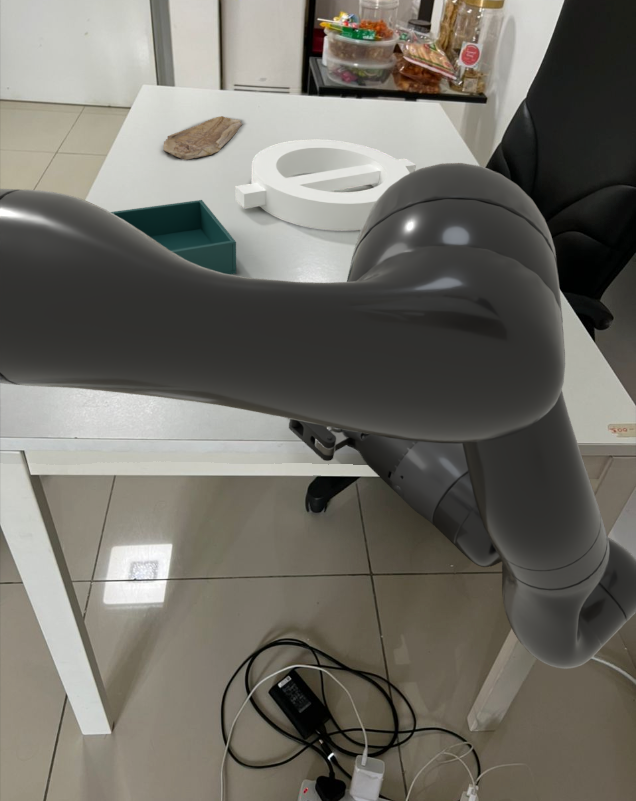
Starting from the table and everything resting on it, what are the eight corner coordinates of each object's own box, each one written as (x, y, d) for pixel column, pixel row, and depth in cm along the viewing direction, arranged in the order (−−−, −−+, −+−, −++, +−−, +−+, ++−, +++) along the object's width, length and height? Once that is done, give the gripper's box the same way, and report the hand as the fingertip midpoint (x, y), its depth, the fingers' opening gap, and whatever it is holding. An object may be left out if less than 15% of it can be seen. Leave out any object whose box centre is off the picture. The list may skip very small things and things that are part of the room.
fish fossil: (203, 115, 142) (203, 109, 141) (247, 125, 141) (247, 120, 141) (155, 153, 123) (155, 147, 122) (205, 165, 122) (206, 160, 121)
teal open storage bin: (139, 291, 88) (134, 258, 84) (113, 243, 97) (108, 212, 93) (236, 273, 93) (236, 241, 90) (203, 230, 102) (202, 199, 99)
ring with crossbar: (229, 212, 108) (229, 185, 104) (276, 154, 128) (277, 130, 125) (393, 243, 104) (398, 216, 101) (414, 178, 125) (419, 154, 122)
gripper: (488, 405, 59) (374, 318, 68) (371, 467, 52) (262, 360, 61) (469, 460, 64) (365, 372, 73) (360, 524, 57) (260, 418, 66)
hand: (318, 367), depth 67 cm, fingers open, 8 cm apart
